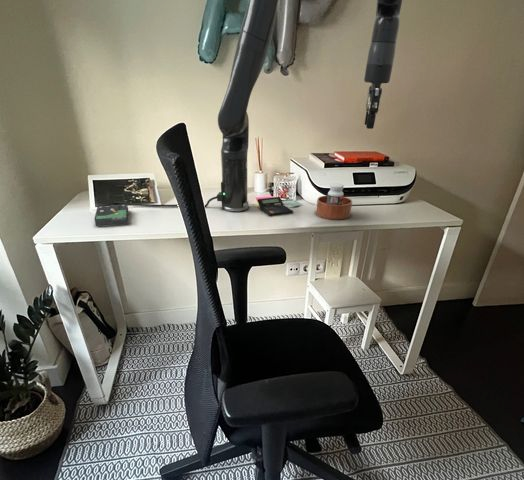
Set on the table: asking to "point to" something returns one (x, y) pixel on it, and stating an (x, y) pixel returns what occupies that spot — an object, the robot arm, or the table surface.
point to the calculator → (273, 206)
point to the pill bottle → (335, 194)
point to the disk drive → (111, 215)
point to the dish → (333, 209)
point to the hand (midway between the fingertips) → (368, 126)
